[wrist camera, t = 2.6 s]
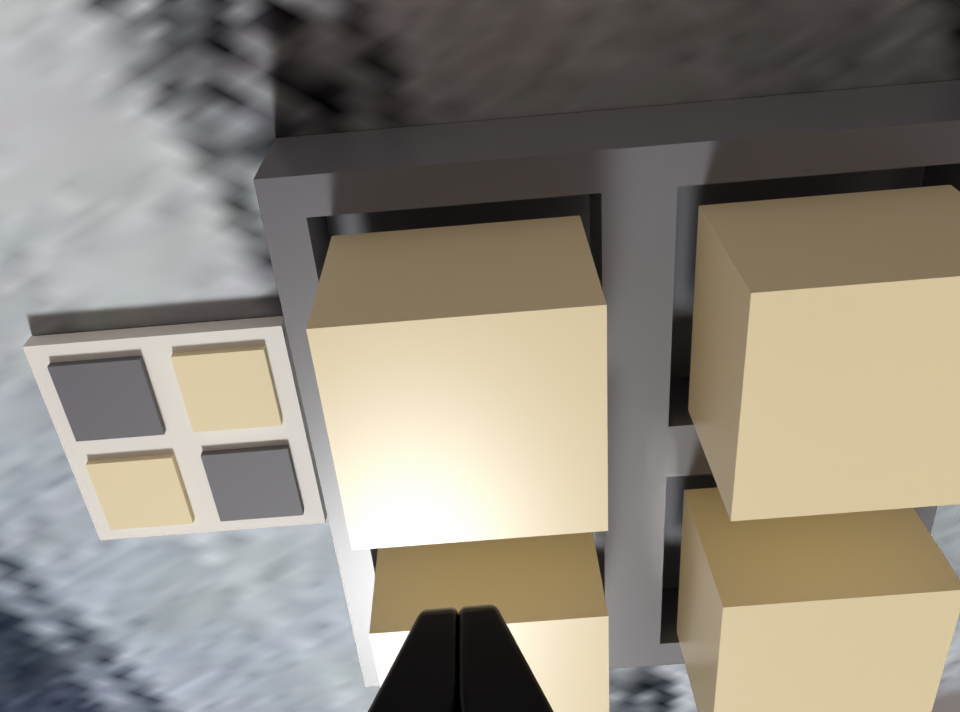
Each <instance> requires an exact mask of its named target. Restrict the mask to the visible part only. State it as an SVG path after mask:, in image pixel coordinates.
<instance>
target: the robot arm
mask: <svg viewBox="0 0 960 712" xmlns="http://www.w3.org/2000/svg"><path fill="white" fill-rule="evenodd" d="M368 712H554V711H553V709H552V707H551V705H550V704H549V702H548V700H547V698H546V696H545V694H544V692H543V691H542V689H541V687H540V685H539V683H538V681H537V680H536V678H535V676H534V674H533V672H532V670H531V668H530V667H529V665H528V663H527V661H526V659H525V657H524V656H523V654H522V652H521V650H520V648H519V646H518V644H517V643H516V641H515V639H514V637H513V635H512V633H511V632H510V630H509V628H508V626H507V624H506V622H505V620H504V619H503V617H502V615H501V613H500V611H499V610H498V608H497V607H496V606H494V605H490V604H489V605H476V606H465V607H462V608H461V609H460V611H459V613H458V611H457V610H456V609H455V608H452V607H450V608H437V609H426V610H423V611H422V612H420V614H419V615H418V617H417V618H416V620H415V622H414V624H413V626H412V628H411V630H410V632H409V634H408V636H407V638H406V639H405V641H404V643H403V645H402V647H401V649H400V651H399V653H398V655H397V657H396V659H395V661H394V662H393V664H392V666H391V668H390V670H389V672H388V674H387V676H386V678H385V680H384V682H383V684H382V685H381V687H380V689H379V691H378V693H377V695H376V697H375V699H374V701H373V703H372V705H371V707H370V709H369V710H368Z"/></svg>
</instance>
